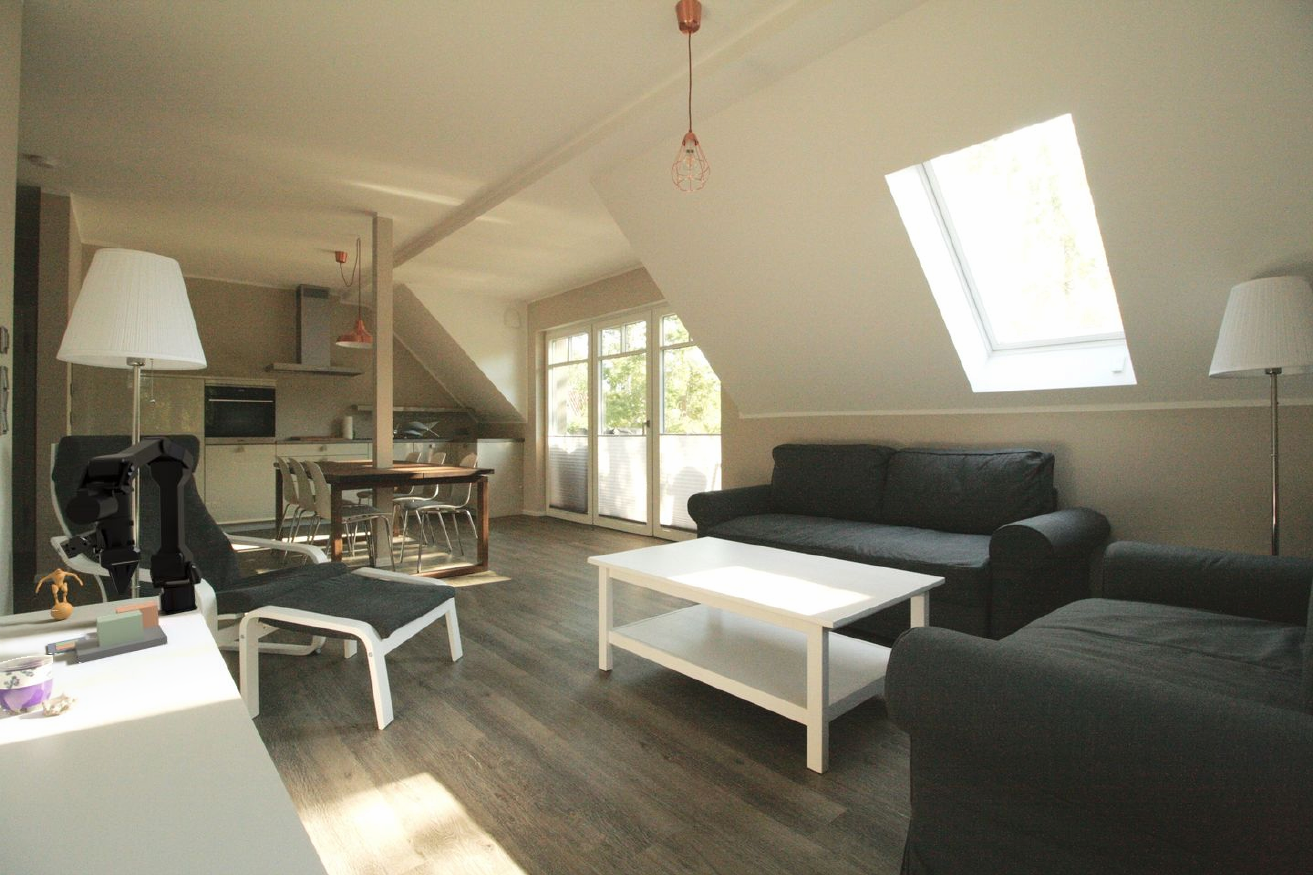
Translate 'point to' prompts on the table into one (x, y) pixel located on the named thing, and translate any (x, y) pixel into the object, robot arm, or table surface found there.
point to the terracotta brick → (143, 612)
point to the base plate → (119, 645)
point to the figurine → (64, 607)
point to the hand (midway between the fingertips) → (118, 590)
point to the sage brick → (119, 627)
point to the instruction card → (63, 645)
